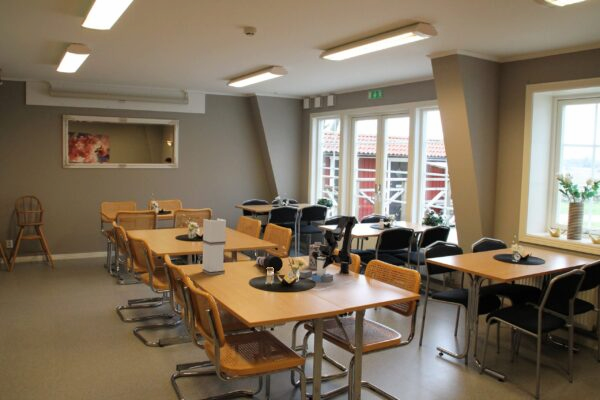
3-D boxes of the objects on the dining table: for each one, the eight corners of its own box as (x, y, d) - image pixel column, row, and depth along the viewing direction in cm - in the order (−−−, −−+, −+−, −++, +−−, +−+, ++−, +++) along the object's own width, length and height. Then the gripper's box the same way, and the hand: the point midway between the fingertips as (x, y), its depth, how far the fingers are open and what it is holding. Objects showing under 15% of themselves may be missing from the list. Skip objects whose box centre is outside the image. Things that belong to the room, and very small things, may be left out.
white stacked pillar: (224, 273, 334) (225, 220, 331) (209, 275, 328) (210, 220, 325) (217, 270, 343) (218, 218, 341) (202, 271, 337) (203, 218, 335)
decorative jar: (325, 269, 357) (326, 244, 356) (308, 268, 358) (309, 243, 356) (324, 266, 369) (325, 241, 368) (308, 265, 369) (309, 240, 368)
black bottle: (260, 269, 372) (266, 256, 374) (279, 274, 341) (285, 260, 344) (248, 263, 368) (254, 250, 370) (266, 267, 337) (272, 253, 340)
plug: (316, 276, 320) (317, 257, 319) (320, 275, 323) (320, 256, 322) (321, 277, 317) (322, 258, 316) (325, 276, 321) (326, 257, 320)
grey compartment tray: (298, 279, 324) (299, 271, 324) (307, 276, 332) (307, 269, 331) (324, 284, 312) (325, 276, 312) (333, 282, 320) (333, 274, 319)
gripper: (313, 238, 327) (303, 257, 319) (338, 242, 316) (327, 262, 308) (320, 249, 334) (309, 268, 326) (344, 253, 323) (334, 273, 315)
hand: (320, 267), depth 319 cm, fingers closed on plug, 4 cm apart
